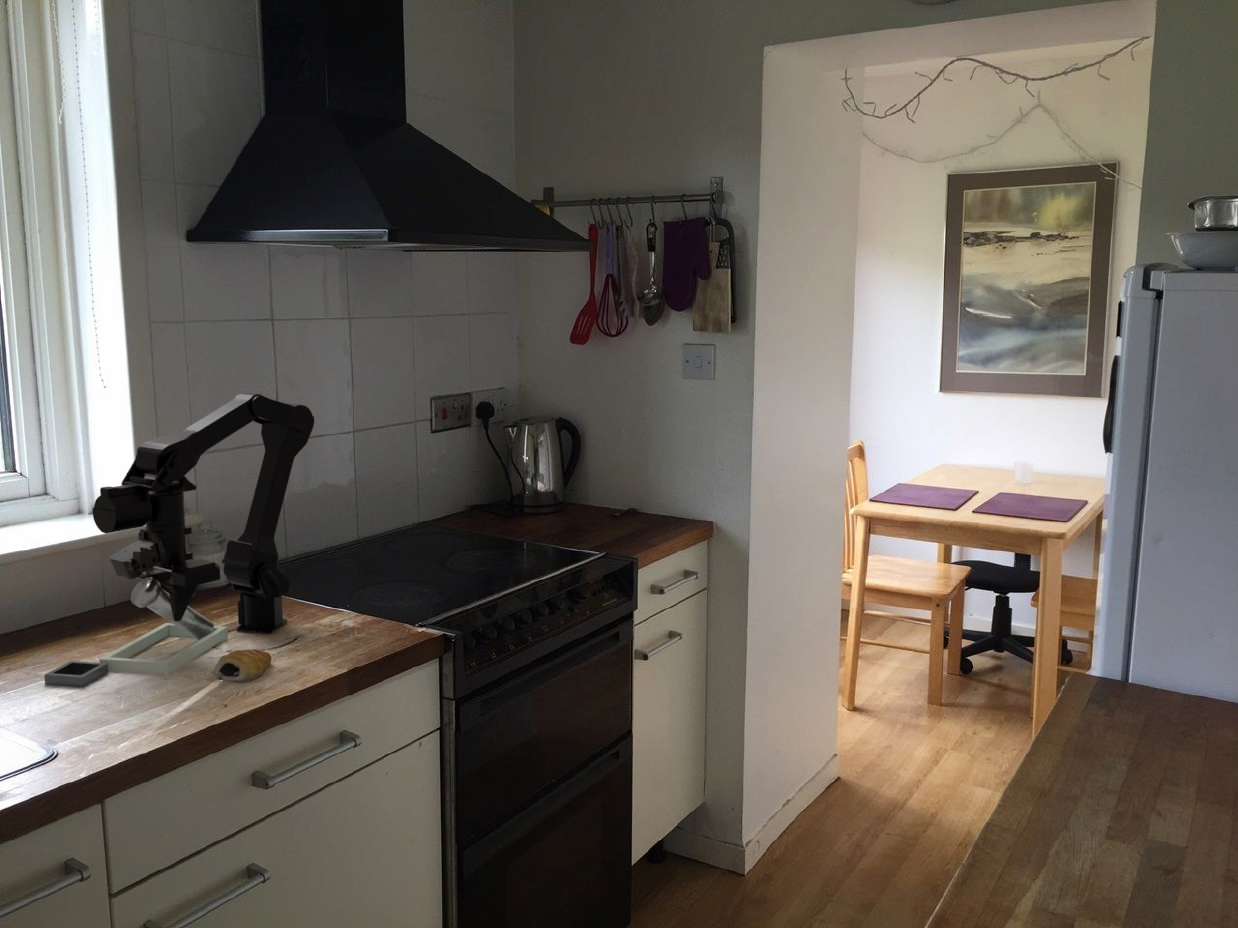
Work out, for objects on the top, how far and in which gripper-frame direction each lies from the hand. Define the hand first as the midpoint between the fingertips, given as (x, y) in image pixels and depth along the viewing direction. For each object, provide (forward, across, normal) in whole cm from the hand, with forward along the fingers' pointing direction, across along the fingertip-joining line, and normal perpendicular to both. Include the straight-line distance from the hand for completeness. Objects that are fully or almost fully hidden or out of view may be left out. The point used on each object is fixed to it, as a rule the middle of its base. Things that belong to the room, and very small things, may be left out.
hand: (170, 618), depth 173 cm
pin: (+4, 0, +6) cm, 7 cm away
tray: (+6, 0, -1) cm, 6 cm away
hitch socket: (+6, 0, -15) cm, 17 cm away
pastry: (+6, +16, +2) cm, 17 cm away
